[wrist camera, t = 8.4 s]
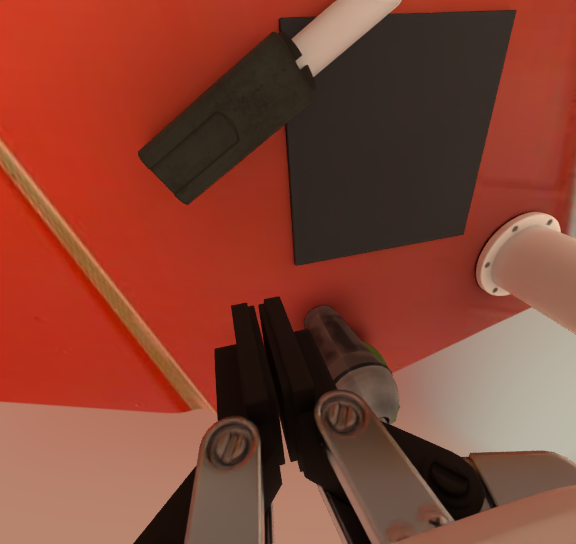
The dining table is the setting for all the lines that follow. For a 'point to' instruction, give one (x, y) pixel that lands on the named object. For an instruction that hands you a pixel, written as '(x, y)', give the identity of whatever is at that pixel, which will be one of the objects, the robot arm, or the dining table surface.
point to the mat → (394, 133)
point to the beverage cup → (353, 362)
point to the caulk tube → (254, 99)
